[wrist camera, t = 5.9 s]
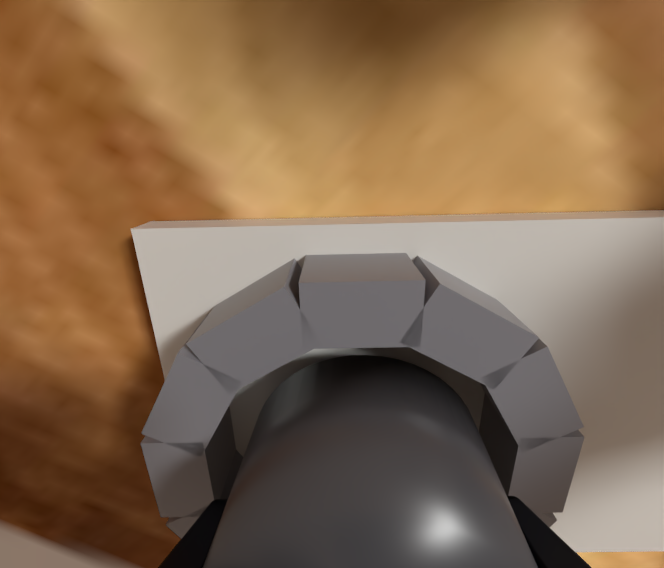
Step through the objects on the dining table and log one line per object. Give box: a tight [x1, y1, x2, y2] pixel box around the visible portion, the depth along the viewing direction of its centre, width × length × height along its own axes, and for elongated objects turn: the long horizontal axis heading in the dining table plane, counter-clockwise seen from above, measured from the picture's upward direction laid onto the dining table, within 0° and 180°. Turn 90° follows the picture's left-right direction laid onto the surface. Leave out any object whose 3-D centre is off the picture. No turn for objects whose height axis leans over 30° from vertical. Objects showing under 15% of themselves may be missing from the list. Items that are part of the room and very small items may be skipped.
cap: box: [203, 355, 538, 568], centre depth 8 cm, size 6×6×4 cm
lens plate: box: [131, 210, 664, 552], centre depth 10 cm, size 19×12×3 cm, turn 91°
